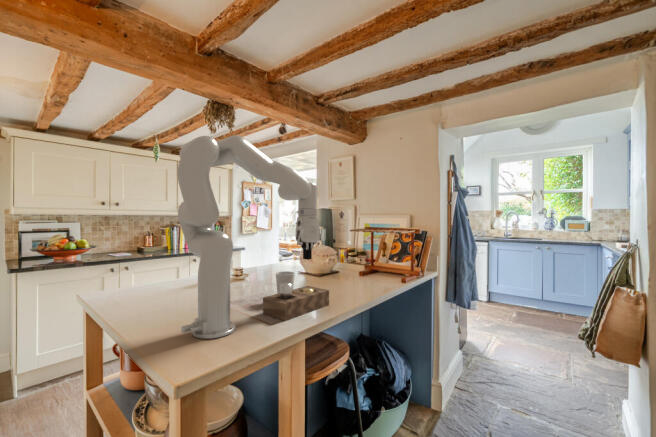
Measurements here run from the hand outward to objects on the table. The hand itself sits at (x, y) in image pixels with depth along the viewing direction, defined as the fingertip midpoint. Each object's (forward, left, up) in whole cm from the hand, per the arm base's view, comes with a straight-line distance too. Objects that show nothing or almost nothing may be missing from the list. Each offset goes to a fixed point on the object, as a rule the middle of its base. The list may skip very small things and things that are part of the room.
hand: (307, 259), depth 118 cm
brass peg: (+1, 0, -18) cm, 18 cm away
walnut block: (-5, 0, -19) cm, 20 cm away
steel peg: (-11, 0, -14) cm, 18 cm away
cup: (-1, +11, -19) cm, 22 cm away
